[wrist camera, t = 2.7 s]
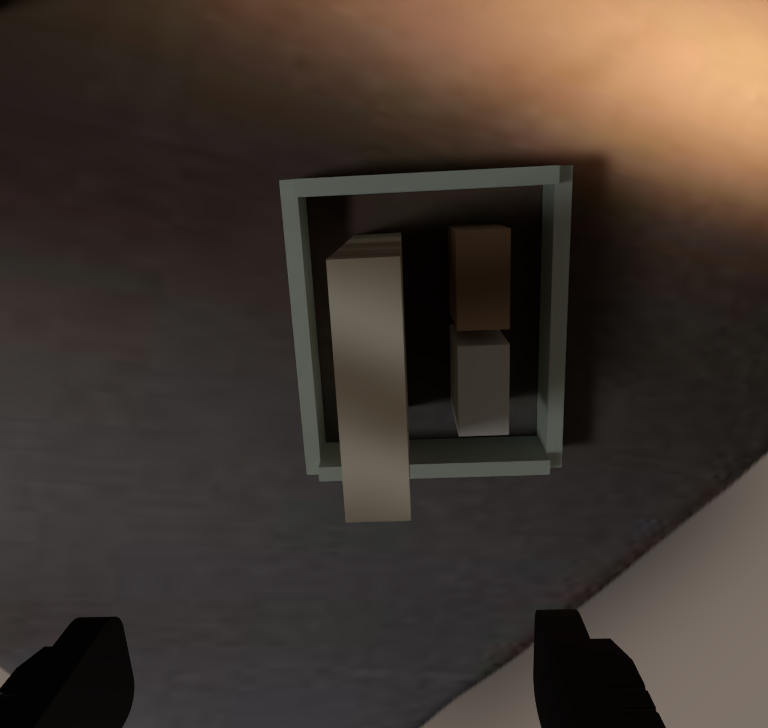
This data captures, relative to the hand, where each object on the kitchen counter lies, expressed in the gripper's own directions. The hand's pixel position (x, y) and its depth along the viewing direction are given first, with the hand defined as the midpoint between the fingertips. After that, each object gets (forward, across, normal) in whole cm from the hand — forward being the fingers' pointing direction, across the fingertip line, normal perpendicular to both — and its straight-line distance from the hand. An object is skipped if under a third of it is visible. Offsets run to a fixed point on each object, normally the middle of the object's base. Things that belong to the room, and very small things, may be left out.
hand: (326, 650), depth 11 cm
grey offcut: (+30, -6, +3) cm, 30 cm away
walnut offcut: (+30, -6, -4) cm, 31 cm away
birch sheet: (+30, 0, 0) cm, 30 cm away
